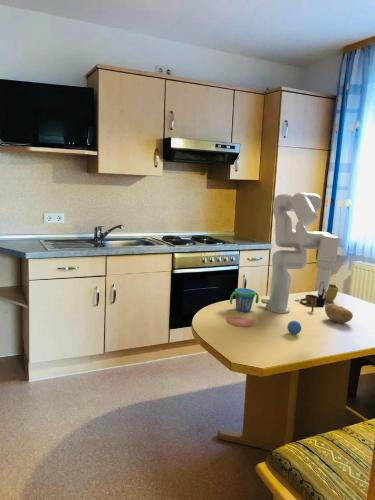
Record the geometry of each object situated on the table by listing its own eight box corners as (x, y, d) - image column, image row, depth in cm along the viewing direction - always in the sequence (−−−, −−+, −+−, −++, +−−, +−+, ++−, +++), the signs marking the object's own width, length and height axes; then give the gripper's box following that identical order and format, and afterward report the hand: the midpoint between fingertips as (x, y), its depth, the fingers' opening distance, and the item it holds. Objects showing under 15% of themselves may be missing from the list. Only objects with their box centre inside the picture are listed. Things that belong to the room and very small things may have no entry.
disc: (222, 322, 189) (222, 322, 189) (231, 315, 201) (231, 314, 201) (249, 329, 184) (249, 328, 184) (257, 320, 196) (257, 320, 196)
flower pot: (320, 301, 235) (322, 286, 234) (318, 297, 244) (320, 282, 242) (336, 303, 234) (338, 288, 232) (333, 299, 242) (335, 284, 241)
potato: (344, 328, 195) (346, 312, 193) (319, 318, 206) (321, 303, 204) (355, 325, 200) (358, 309, 199) (331, 315, 211) (333, 301, 210)
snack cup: (253, 306, 217) (255, 287, 215) (261, 313, 207) (263, 294, 205) (225, 306, 214) (227, 287, 212) (232, 313, 204) (234, 293, 202)
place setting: (330, 307, 229) (332, 296, 228) (314, 314, 214) (315, 303, 213) (302, 298, 240) (303, 289, 239) (284, 305, 226) (286, 294, 225)
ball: (285, 334, 181) (287, 321, 180) (288, 330, 186) (289, 317, 185) (299, 337, 179) (300, 324, 178) (301, 333, 184) (303, 320, 183)
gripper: (319, 260, 181) (313, 299, 185) (314, 266, 167) (308, 309, 170) (337, 262, 178) (331, 303, 182) (333, 269, 164) (326, 313, 167)
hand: (320, 305), depth 176 cm, fingers closed
